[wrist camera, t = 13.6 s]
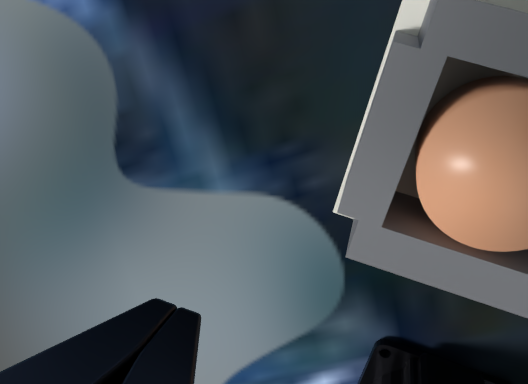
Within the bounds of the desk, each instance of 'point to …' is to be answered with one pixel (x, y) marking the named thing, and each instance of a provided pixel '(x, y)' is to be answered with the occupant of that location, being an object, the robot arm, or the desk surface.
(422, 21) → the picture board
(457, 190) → the peach rounded disc
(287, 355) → the desk surface
